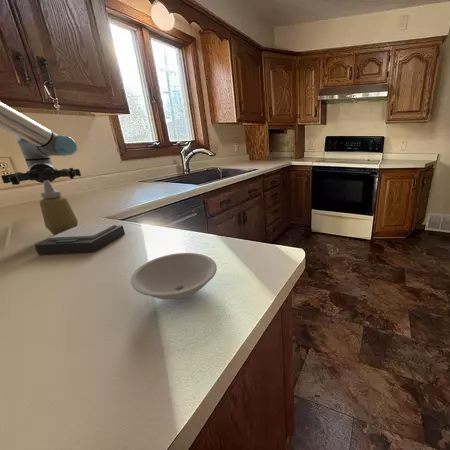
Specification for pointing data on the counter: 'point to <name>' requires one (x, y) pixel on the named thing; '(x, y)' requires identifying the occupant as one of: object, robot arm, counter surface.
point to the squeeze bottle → (56, 210)
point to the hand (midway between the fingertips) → (44, 177)
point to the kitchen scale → (80, 239)
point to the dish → (174, 275)
